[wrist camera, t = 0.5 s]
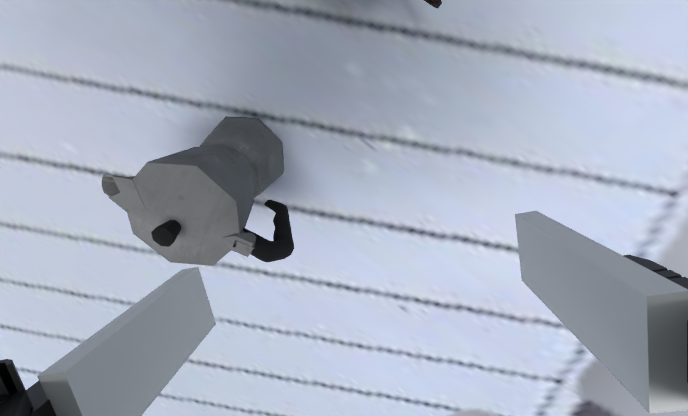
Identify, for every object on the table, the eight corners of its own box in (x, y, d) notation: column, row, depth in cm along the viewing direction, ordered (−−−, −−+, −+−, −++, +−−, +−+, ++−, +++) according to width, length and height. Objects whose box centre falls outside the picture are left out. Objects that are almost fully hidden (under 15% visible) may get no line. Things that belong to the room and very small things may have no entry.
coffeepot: (182, 165, 41) (60, 251, 25) (200, 90, 37) (69, 137, 21) (302, 217, 43) (259, 328, 27) (332, 152, 39) (303, 238, 23)
